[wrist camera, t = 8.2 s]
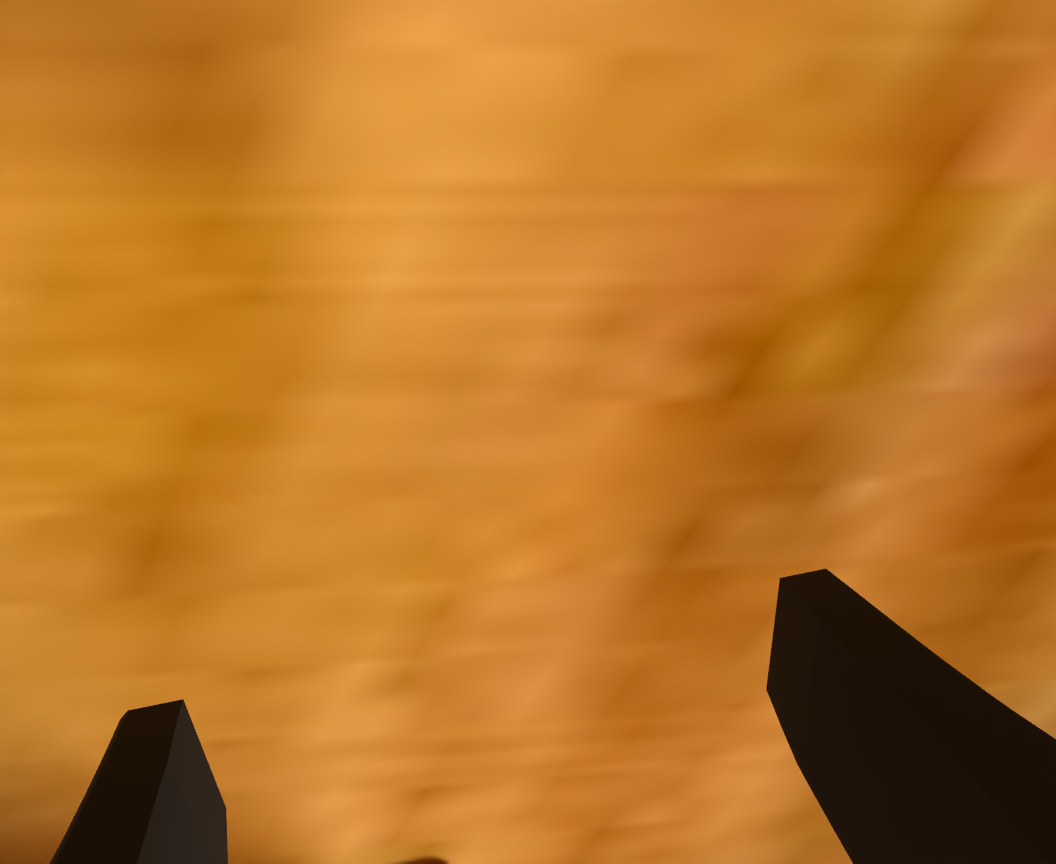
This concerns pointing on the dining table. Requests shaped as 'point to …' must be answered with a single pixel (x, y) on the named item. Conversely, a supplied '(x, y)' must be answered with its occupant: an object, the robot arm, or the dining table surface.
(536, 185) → the dining table surface
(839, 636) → the robot arm
